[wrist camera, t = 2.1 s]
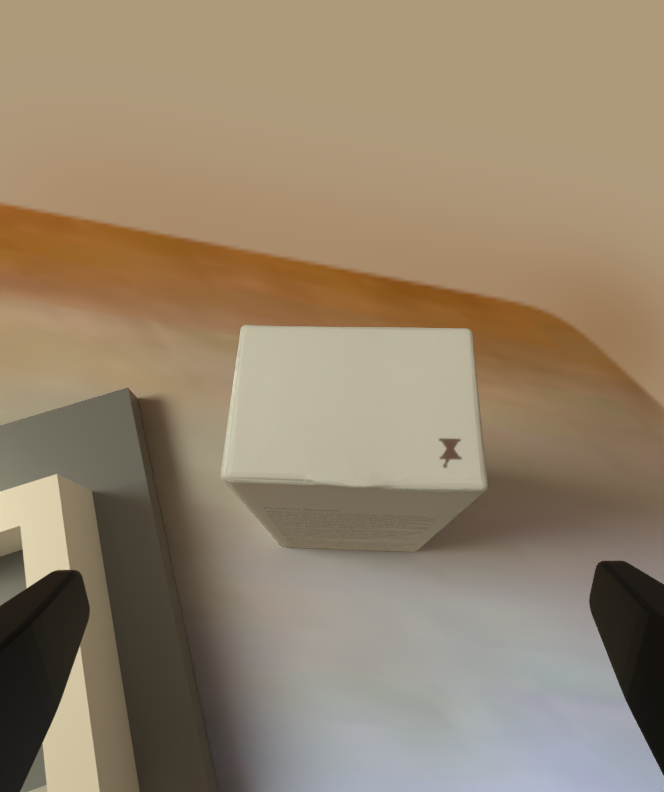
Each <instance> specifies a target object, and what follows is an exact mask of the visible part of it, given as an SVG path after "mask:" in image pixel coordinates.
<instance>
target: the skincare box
mask: <svg viewBox="0 0 664 792" xmlns="http://www.w3.org/2000/svg"><path fill="white" fill-rule="evenodd" d="M221 478H222V480H223V481H224V482H225V483H226V484H227V485H228V486H229V487H230V488H231V489H232V491H233V492H234V493H235V494H236V495H237V496H238V497H239V498H240V499H241V500H242V502H243V503H244V504H245V505H246V506H247V507H248V508H249V510H250V511H251V512H252V513H253V514H254V515H255V517H256V518H257V519H258V520H259V521H260V522H261V523H262V525H263V526H264V527H265V528H266V529H267V530H268V532H269V533H270V534H271V535H272V536H273V537H274V539H275V540H276V541H277V542H278V543H279V544H280V545H281V546H282V547H297V548H324V549H350V550H379V551H407V552H416V551H417V550H418V549H420V548H421V547H422V546H423V545H424V544H426V543H427V542H428V541H429V540H430V539H431V538H432V537H433V536H434V535H436V534H437V533H438V532H439V531H440V530H441V529H443V528H444V527H445V526H446V525H447V524H448V523H449V522H451V521H452V520H453V519H454V518H455V517H456V516H457V515H459V514H460V513H461V512H462V511H463V510H464V509H466V508H467V507H468V506H469V505H470V504H471V503H472V502H473V501H475V500H476V499H477V498H478V497H479V496H480V495H481V494H483V493H484V492H485V491H486V490H487V488H488V479H487V470H486V461H485V453H484V444H483V434H482V424H481V415H480V405H479V395H478V385H477V375H476V365H475V354H474V344H473V335H472V331H471V330H469V329H467V328H465V329H453V328H398V327H304V326H254V325H243V326H242V328H241V331H240V339H239V346H238V352H237V359H236V367H235V374H234V381H233V388H232V396H231V403H230V410H229V416H228V423H227V431H226V439H225V447H224V454H223V462H222V469H221Z"/></svg>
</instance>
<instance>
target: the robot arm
mask: <svg viewBox="0 0 664 792" xmlns="http://www.w3.org/2000/svg"><path fill="white" fill-rule="evenodd" d="M589 603H590V609H591V613H592V616H593V618H594V621H595V623H596V626H597V628H598V631H599V634H600V636H601V639H602V641H603V644H604V646H605V649H606V652H607V654H608V657H609V659H610V662H611V664H612V667H613V670H614V672H615V675H616V677H617V680H618V682H619V685H620V687H621V690H622V692H623V694H624V697H625V699H626V701H627V703H628V706H629V708H630V710H631V712H632V714H633V716H634V718H635V720H636V722H637V724H638V726H639V728H640V730H641V732H642V734H643V736H644V738H645V740H646V742H647V744H648V746H649V748H650V749H651V751H652V753H653V755H654V757H655V759H656V761H657V763H658V765H659V767H660V769H661V771H662V773H663V775H664V584H662V583H660V582H659V581H657V580H655V579H654V578H652V577H650V576H649V575H647V574H645V573H644V572H642V571H640V570H639V569H637V568H635V567H634V566H632V565H630V564H629V563H627V562H624V561H601V562H599V563H598V565H597V566H596V569H595V574H594V579H593V583H592V588H591V593H590V598H589ZM89 615H90V605H89V601H88V597H87V593H86V589H85V585H84V581H83V577H82V574H81V573H80V572H79V571H77V570H56V571H53V572H51V573H49V574H48V575H46V576H45V577H43V578H42V579H40V580H39V581H37V582H36V583H34V584H32V585H31V586H29V587H28V588H26V589H25V590H23V591H22V592H20V593H19V594H17V595H16V596H14V597H13V598H11V599H10V600H8V601H7V602H5V603H3V604H2V605H0V792H20V791H21V789H22V787H23V785H24V782H25V780H26V778H27V776H28V774H29V771H30V769H31V767H32V765H33V763H34V761H35V758H36V756H37V754H38V752H39V750H40V747H41V745H42V743H43V741H44V739H45V736H46V734H47V732H48V730H49V728H50V726H51V723H52V721H53V719H54V716H55V714H56V712H57V709H58V707H59V704H60V701H61V699H62V696H63V693H64V690H65V688H66V685H67V682H68V679H69V676H70V673H71V670H72V667H73V664H74V661H75V658H76V655H77V653H78V650H79V647H80V644H81V641H82V638H83V635H84V632H85V629H86V626H87V623H88V620H89Z"/></svg>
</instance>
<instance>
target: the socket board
mask: <svg viewBox="0 0 664 792" xmlns="http://www.w3.org/2000/svg"><path fill="white" fill-rule="evenodd" d="M56 570H77V571H79V572H80V573H81V574H82V577H83V581H84V585H85V589H86V593H87V597H88V601H89V605H90V615H89V620H88V623H87V626H86V629H85V632H84V635H83V638H82V641H81V644H80V647H79V650H78V653H77V655H76V658H75V661H74V664H73V667H72V670H71V673H70V676H69V679H68V682H67V685H66V688H65V690H64V693H63V696H62V699H61V701H60V704H59V707H58V709H57V712H56V714H55V716H54V719H53V721H52V723H51V726H50V728H49V730H48V732H47V734H46V736H45V739H44V741H43V743H42V745H41V747H40V750H39V752H38V754H37V756H36V758H35V761H34V763H33V765H32V767H31V769H30V771H29V774H28V776H27V778H26V780H25V782H24V785H23V787H22V789H21V791H20V792H219V791H218V786H217V781H216V776H215V772H214V767H213V762H212V757H211V752H210V747H209V743H208V738H207V733H206V728H205V723H204V718H203V714H202V709H201V704H200V699H199V694H198V690H197V685H196V680H195V675H194V670H193V665H192V661H191V656H190V651H189V646H188V641H187V636H186V632H185V627H184V622H183V617H182V612H181V607H180V603H179V598H178V593H177V588H176V583H175V578H174V574H173V569H172V564H171V559H170V554H169V550H168V545H167V540H166V535H165V530H164V525H163V521H162V516H161V511H160V506H159V501H158V496H157V492H156V487H155V482H154V477H153V472H152V467H151V463H150V458H149V453H148V448H147V443H146V438H145V434H144V429H143V424H142V419H141V414H140V410H139V405H138V400H137V397H136V396H135V395H134V394H133V393H132V392H131V391H130V390H129V388H125V389H122V390H119V391H115V392H112V393H108V394H105V395H102V396H98V397H95V398H92V399H88V400H85V401H82V402H78V403H75V404H72V405H68V406H65V407H61V408H58V409H55V410H51V411H48V412H45V413H41V414H38V415H35V416H31V417H28V418H25V419H21V420H18V421H15V422H11V423H8V424H4V425H1V426H0V605H2V604H3V603H5V602H7V601H8V600H10V599H11V598H13V597H14V596H16V595H17V594H19V593H20V592H22V591H23V590H25V589H26V588H28V587H29V586H31V585H32V584H34V583H36V582H37V581H39V580H40V579H42V578H43V577H45V576H46V575H48V574H49V573H51V572H53V571H56Z"/></svg>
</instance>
